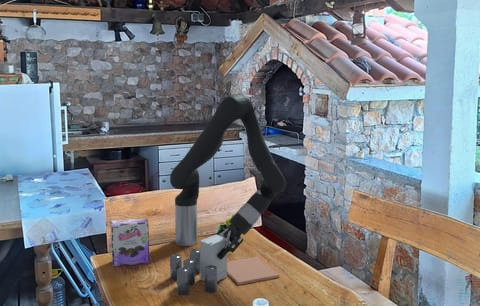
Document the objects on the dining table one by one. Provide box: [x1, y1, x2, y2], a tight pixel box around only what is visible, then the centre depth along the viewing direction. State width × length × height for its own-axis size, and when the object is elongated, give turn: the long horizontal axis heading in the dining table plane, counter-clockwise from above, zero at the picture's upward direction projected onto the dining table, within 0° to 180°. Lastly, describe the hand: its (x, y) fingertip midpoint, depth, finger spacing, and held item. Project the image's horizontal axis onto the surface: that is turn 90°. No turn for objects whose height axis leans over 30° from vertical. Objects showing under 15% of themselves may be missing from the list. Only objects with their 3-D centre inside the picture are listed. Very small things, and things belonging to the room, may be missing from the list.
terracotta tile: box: [227, 256, 280, 286], centre depth 176 cm, size 18×16×1 cm
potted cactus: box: [217, 214, 235, 235], centre depth 207 cm, size 11×9×11 cm
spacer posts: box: [169, 248, 218, 296], centre depth 165 cm, size 20×13×8 cm, turn 24°
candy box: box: [110, 218, 150, 268], centre depth 182 cm, size 14×6×16 cm, turn 105°
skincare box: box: [199, 235, 228, 282], centre depth 168 cm, size 8×6×15 cm
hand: (214, 253), depth 168 cm, fingers closed on skincare box, 7 cm apart
